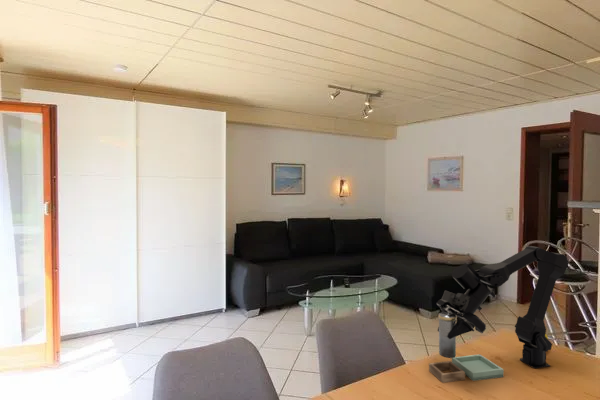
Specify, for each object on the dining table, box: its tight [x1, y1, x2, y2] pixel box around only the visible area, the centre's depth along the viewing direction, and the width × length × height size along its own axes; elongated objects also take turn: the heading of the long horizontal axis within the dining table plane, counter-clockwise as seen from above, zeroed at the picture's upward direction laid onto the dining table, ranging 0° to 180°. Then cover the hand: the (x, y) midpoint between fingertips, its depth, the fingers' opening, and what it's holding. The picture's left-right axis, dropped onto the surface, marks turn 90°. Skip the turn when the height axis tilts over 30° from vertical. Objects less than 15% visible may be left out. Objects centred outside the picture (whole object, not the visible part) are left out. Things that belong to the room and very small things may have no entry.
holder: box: [428, 360, 466, 384], centre depth 118 cm, size 8×8×2 cm
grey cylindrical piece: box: [438, 311, 457, 359], centre depth 118 cm, size 5×5×13 cm
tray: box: [451, 353, 505, 382], centre depth 120 cm, size 11×11×2 cm
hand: (443, 334), depth 117 cm, fingers closed on grey cylindrical piece, 5 cm apart
